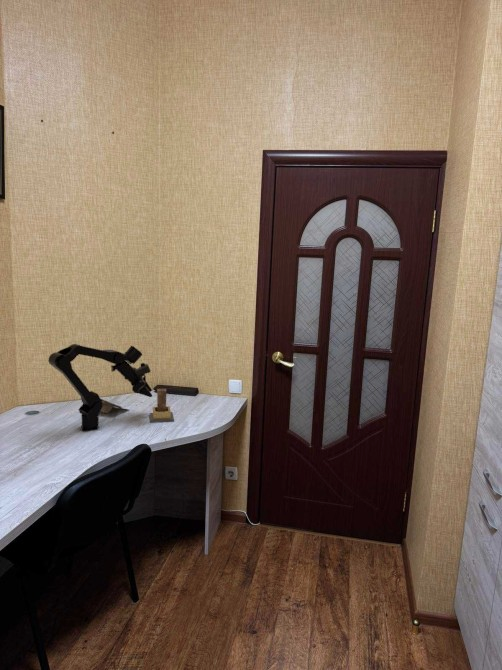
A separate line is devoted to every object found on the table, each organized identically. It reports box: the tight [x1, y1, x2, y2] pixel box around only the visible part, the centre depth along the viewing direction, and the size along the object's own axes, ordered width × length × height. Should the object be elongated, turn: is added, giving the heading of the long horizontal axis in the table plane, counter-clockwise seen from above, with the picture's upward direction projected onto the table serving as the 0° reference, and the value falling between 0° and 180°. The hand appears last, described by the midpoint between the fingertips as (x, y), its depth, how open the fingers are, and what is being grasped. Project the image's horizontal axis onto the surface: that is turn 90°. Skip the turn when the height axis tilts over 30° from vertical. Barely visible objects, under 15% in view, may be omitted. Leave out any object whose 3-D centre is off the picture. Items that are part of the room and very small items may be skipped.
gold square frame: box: [149, 405, 175, 423], centre depth 216 cm, size 11×11×4 cm
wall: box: [100, 398, 130, 414], centre depth 222 cm, size 16×9×15 cm
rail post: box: [156, 388, 167, 411], centre depth 216 cm, size 4×4×13 cm
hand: (151, 393), depth 214 cm, fingers open, 9 cm apart
